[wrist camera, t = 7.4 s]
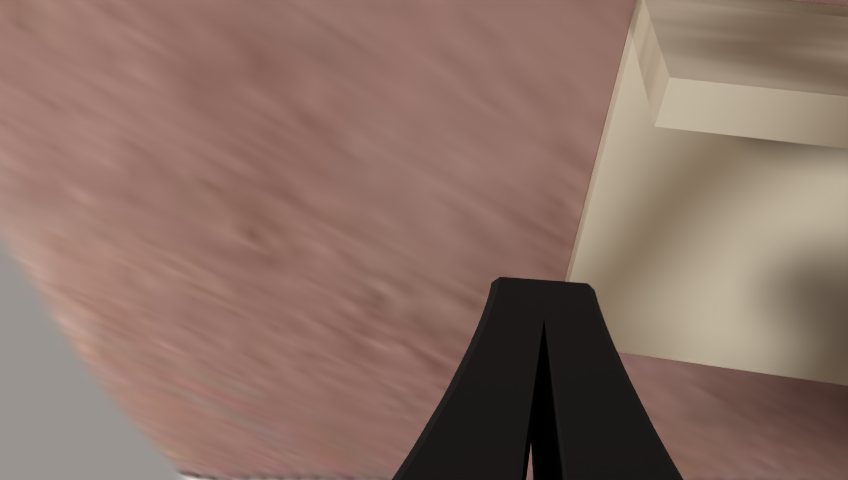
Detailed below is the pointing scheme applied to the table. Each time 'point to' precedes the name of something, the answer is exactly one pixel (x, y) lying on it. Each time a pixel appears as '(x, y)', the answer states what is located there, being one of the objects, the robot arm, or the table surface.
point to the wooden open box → (725, 189)
